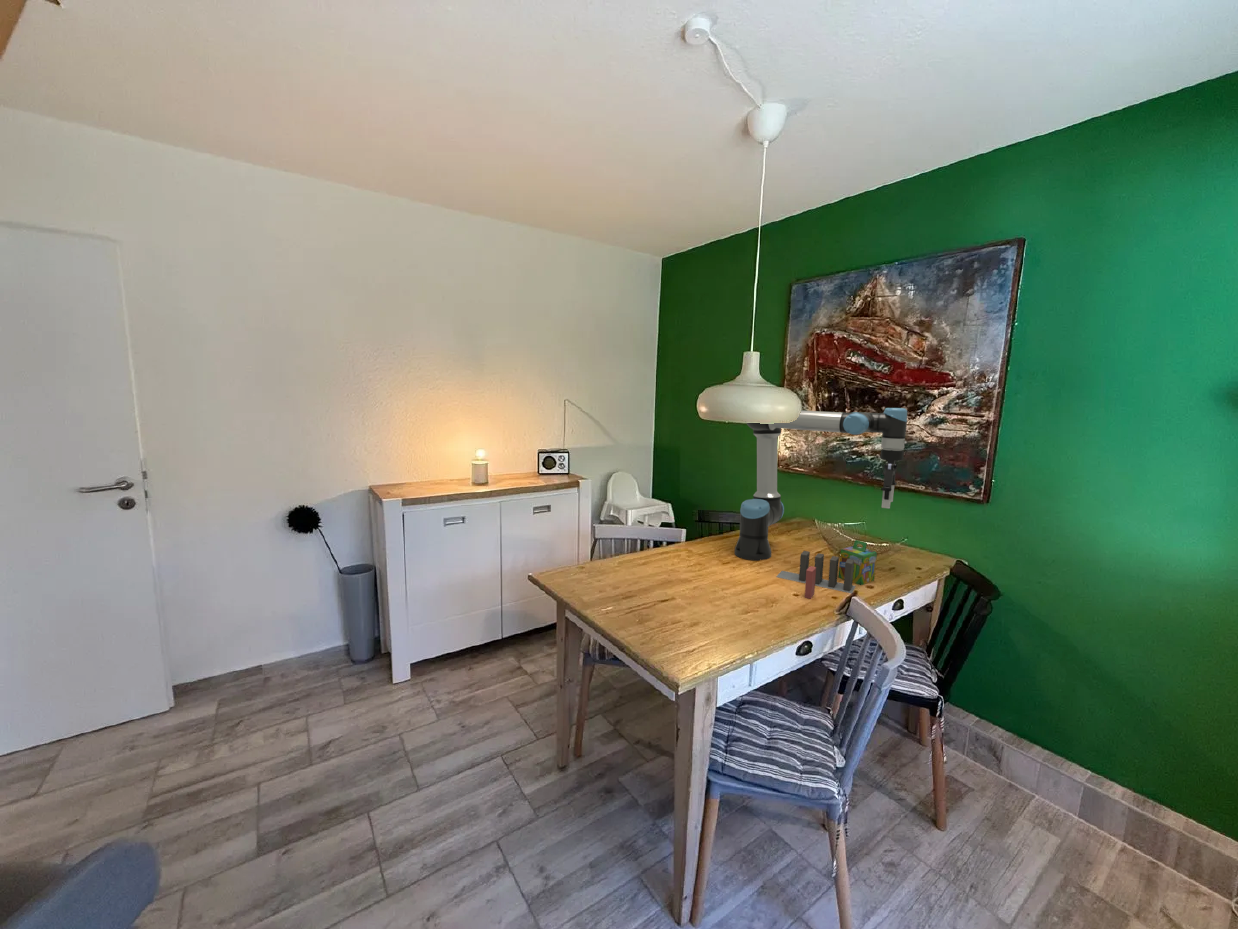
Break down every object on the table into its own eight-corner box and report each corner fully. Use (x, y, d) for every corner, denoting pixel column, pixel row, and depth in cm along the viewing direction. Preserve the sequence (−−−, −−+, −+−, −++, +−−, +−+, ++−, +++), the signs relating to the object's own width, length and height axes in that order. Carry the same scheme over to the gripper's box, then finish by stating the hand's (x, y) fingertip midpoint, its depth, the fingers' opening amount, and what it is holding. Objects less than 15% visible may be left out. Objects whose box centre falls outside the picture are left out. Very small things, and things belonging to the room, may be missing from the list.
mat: (775, 577, 177) (775, 576, 177) (782, 571, 184) (782, 570, 183) (851, 594, 162) (852, 593, 162) (855, 587, 169) (855, 586, 169)
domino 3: (813, 583, 171) (815, 556, 169) (816, 579, 175) (818, 553, 174) (819, 584, 170) (820, 558, 168) (822, 580, 174) (824, 554, 172)
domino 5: (843, 590, 165) (845, 562, 164) (845, 585, 169) (848, 558, 168) (849, 591, 164) (851, 563, 163) (852, 586, 168) (854, 559, 167)
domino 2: (804, 598, 159) (806, 570, 157) (808, 593, 163) (810, 566, 162) (810, 600, 158) (812, 571, 156) (814, 595, 162) (816, 567, 160)
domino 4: (828, 586, 168) (830, 559, 167) (830, 582, 172) (832, 555, 171) (834, 588, 167) (836, 560, 165) (836, 583, 171) (838, 557, 170)
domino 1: (798, 580, 174) (800, 554, 172) (802, 576, 178) (804, 550, 176) (804, 581, 173) (806, 555, 171) (808, 577, 177) (809, 551, 175)
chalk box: (837, 578, 177) (840, 540, 175) (851, 573, 182) (854, 536, 180) (861, 587, 169) (864, 547, 167) (875, 581, 174) (878, 543, 172)
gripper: (902, 453, 165) (896, 512, 168) (905, 447, 185) (900, 500, 188) (877, 451, 169) (872, 509, 172) (884, 445, 189) (879, 497, 193)
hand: (887, 504), depth 180 cm, fingers open, 13 cm apart
